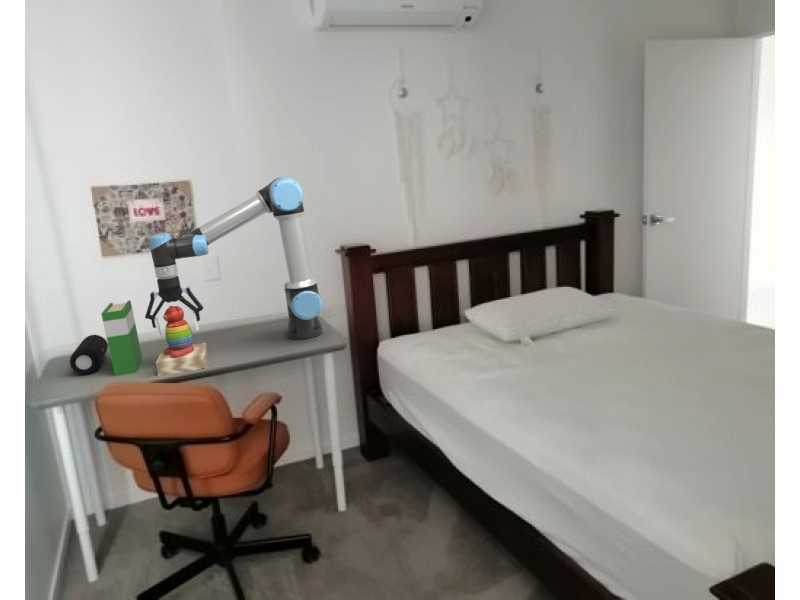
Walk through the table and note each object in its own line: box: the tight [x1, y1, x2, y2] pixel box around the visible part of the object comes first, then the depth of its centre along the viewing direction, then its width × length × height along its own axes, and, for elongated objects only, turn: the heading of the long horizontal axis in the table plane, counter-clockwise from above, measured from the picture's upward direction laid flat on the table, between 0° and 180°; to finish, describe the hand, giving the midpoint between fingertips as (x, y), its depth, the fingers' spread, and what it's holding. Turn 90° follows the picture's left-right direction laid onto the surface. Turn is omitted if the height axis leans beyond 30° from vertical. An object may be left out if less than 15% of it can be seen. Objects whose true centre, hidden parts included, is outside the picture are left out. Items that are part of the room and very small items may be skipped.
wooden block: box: [155, 342, 208, 377], centre depth 225 cm, size 16×17×5 cm
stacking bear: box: [162, 305, 194, 358], centre depth 223 cm, size 11×10×18 cm
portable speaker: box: [69, 334, 109, 375], centre depth 235 cm, size 26×10×10 cm, turn 17°
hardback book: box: [100, 300, 143, 377], centre depth 227 cm, size 18×7×24 cm, turn 16°
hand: (178, 332), depth 223 cm, fingers open, 13 cm apart
